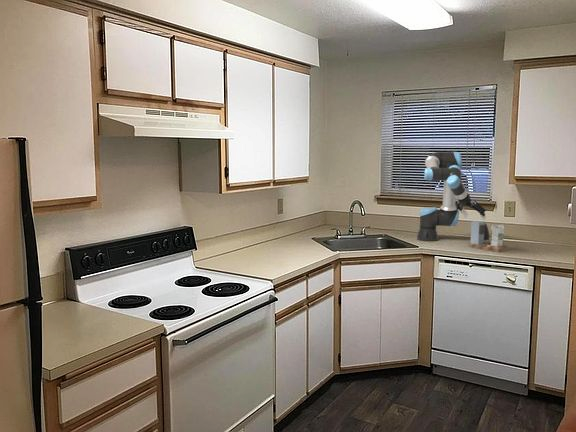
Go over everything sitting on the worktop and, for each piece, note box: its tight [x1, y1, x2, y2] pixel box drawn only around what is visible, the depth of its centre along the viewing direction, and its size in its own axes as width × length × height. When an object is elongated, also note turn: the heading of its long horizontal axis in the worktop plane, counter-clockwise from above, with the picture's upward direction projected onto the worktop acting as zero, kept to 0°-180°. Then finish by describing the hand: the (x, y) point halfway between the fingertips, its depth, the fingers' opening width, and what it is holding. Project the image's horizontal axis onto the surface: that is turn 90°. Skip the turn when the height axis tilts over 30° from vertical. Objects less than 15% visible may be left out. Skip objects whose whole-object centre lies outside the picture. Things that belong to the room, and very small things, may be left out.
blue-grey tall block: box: [470, 220, 486, 245], centre depth 345 cm, size 7×6×15 cm
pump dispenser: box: [484, 222, 491, 244], centre depth 357 cm, size 10×10×15 cm
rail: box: [467, 242, 508, 253], centre depth 340 cm, size 23×9×3 cm, turn 34°
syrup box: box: [489, 224, 505, 247], centre depth 333 cm, size 6×6×14 cm
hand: (475, 217), depth 327 cm, fingers open, 13 cm apart
